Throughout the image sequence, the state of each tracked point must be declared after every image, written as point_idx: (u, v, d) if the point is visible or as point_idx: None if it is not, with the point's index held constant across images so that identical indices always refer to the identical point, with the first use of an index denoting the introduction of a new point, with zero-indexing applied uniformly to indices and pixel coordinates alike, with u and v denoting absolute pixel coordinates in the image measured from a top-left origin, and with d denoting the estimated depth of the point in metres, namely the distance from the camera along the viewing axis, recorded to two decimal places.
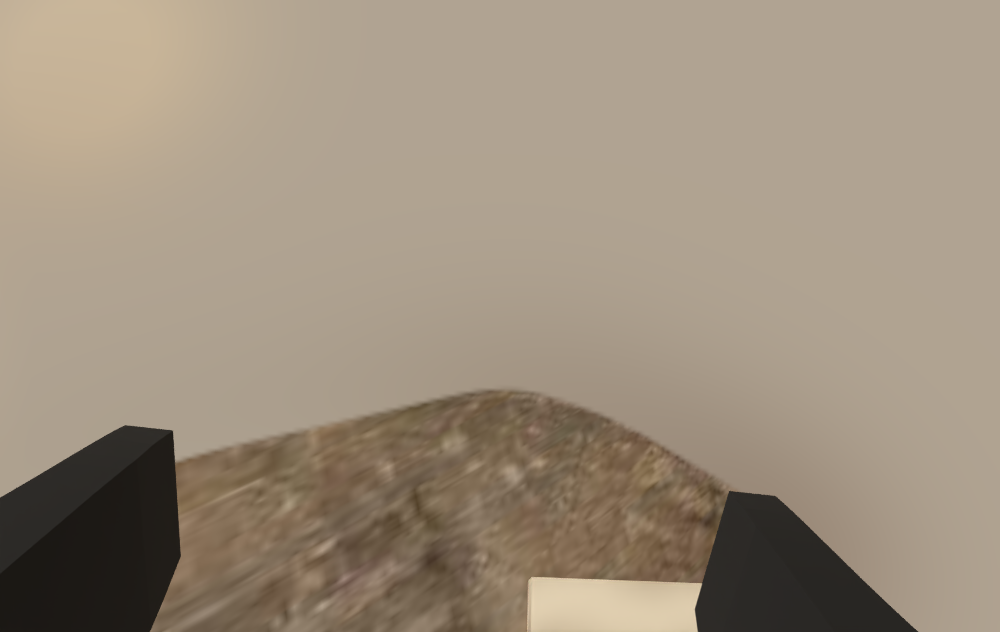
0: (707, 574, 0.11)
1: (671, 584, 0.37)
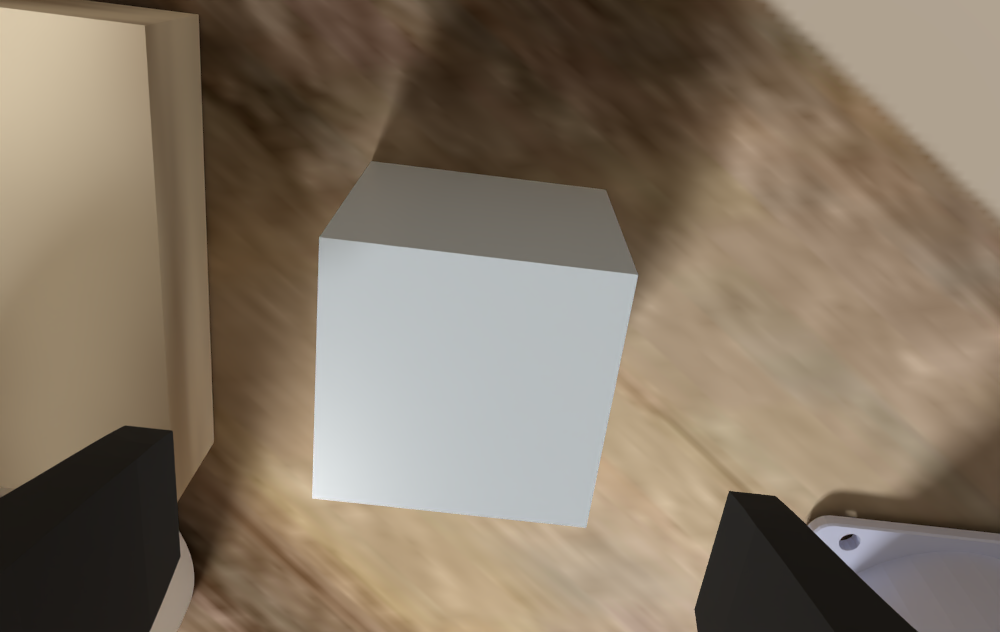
0: (707, 574, 0.11)
1: None
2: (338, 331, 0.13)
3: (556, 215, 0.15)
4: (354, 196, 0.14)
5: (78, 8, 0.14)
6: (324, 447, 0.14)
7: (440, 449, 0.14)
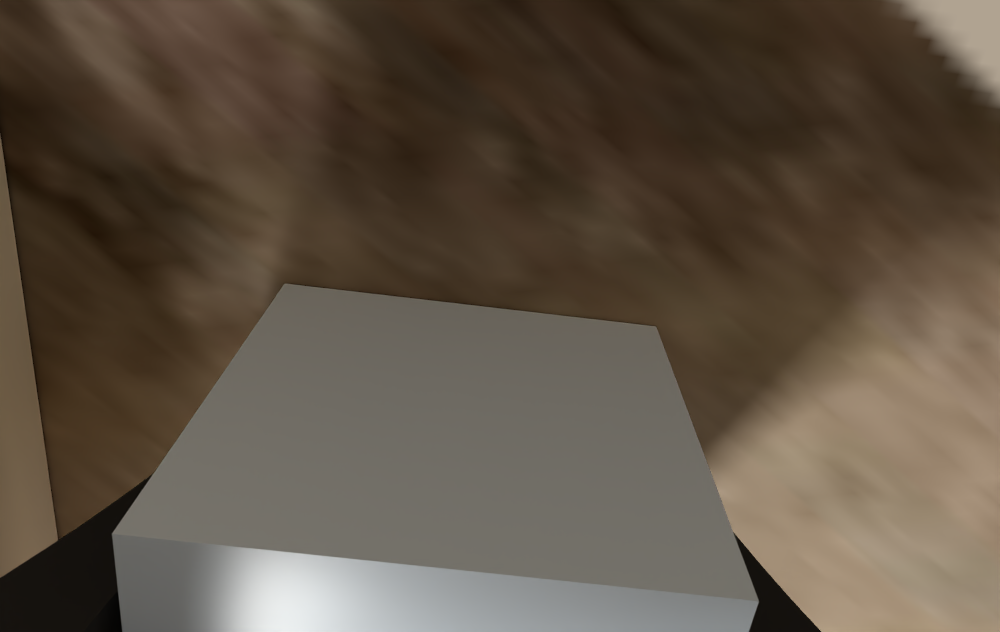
0: None
1: None
2: None
3: (583, 406, 0.09)
4: (228, 384, 0.08)
5: None
6: None
7: None
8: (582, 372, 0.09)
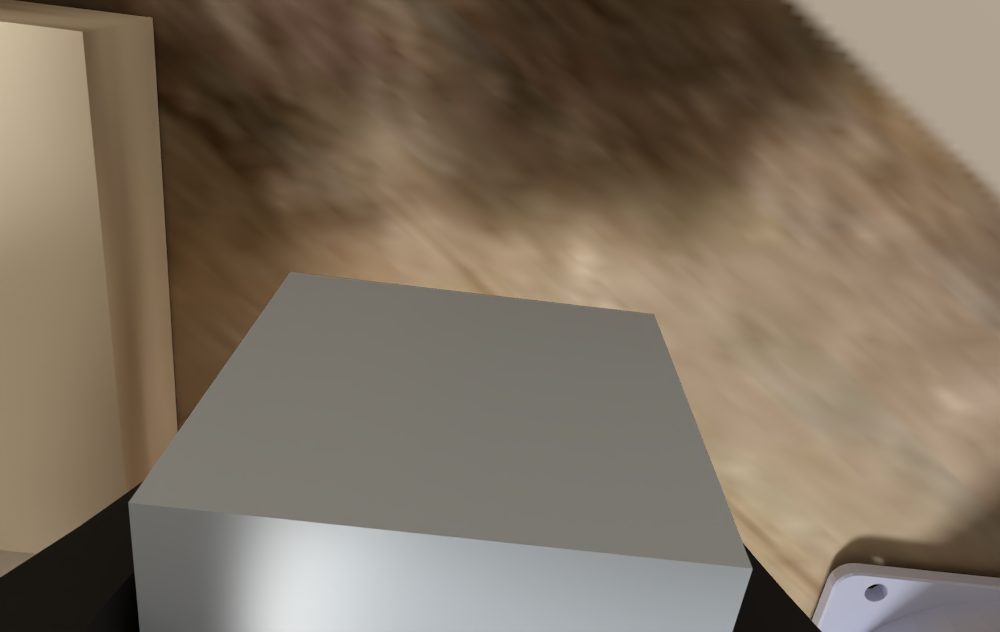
0: None
1: None
2: None
3: (583, 389, 0.09)
4: (237, 365, 0.08)
5: (10, 11, 0.13)
6: None
7: None
8: (582, 356, 0.10)
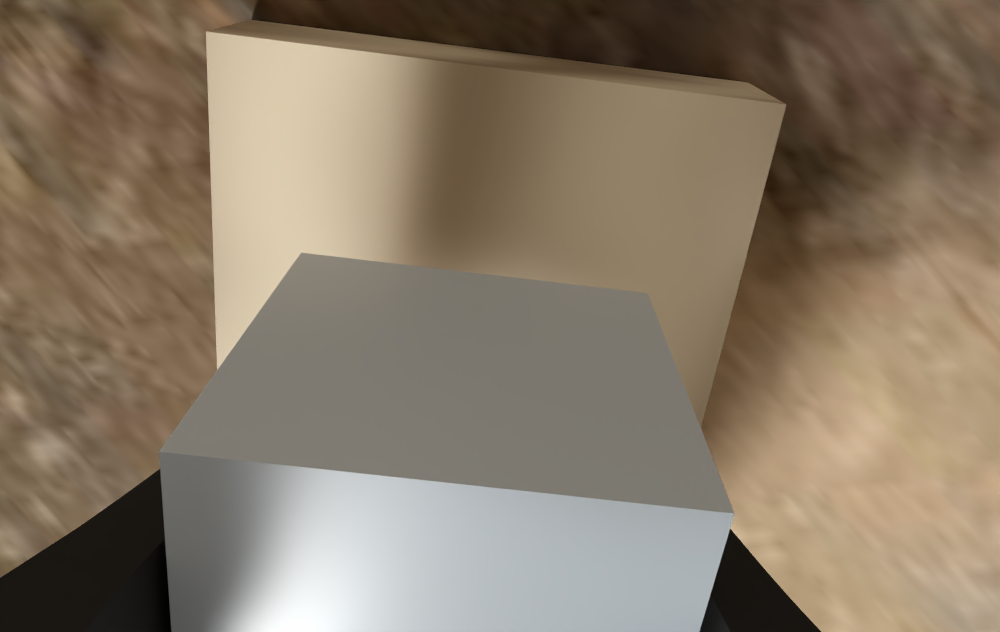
0: None
1: (217, 225, 0.15)
2: (206, 598, 0.07)
3: (579, 358, 0.09)
4: (255, 334, 0.09)
5: (681, 83, 0.15)
6: None
7: None
8: (578, 330, 0.10)
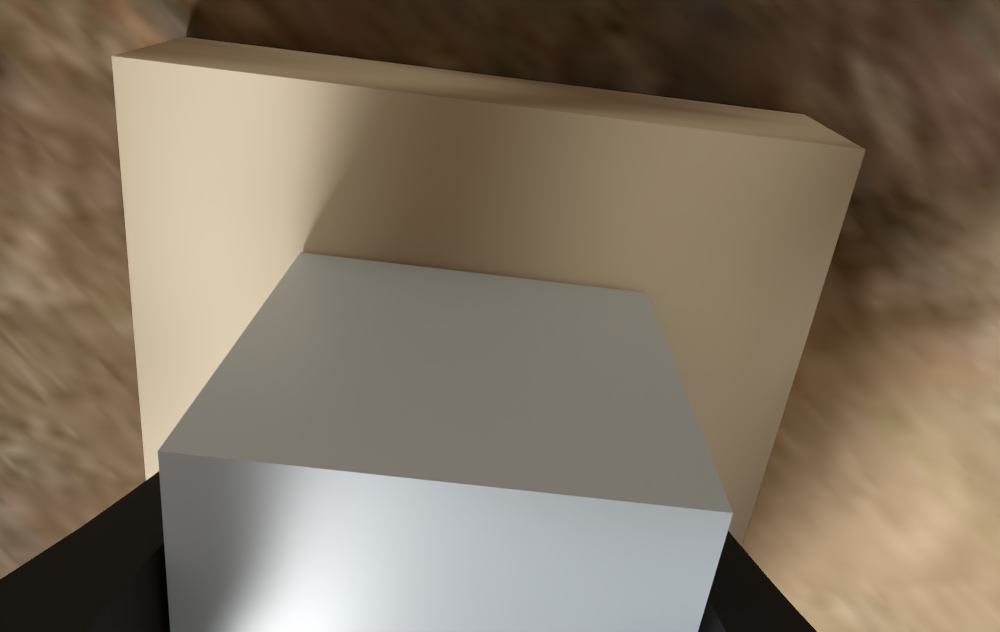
0: None
1: (138, 298, 0.12)
2: (205, 596, 0.07)
3: (578, 358, 0.09)
4: (253, 334, 0.09)
5: (726, 118, 0.12)
6: None
7: None
8: (577, 330, 0.10)
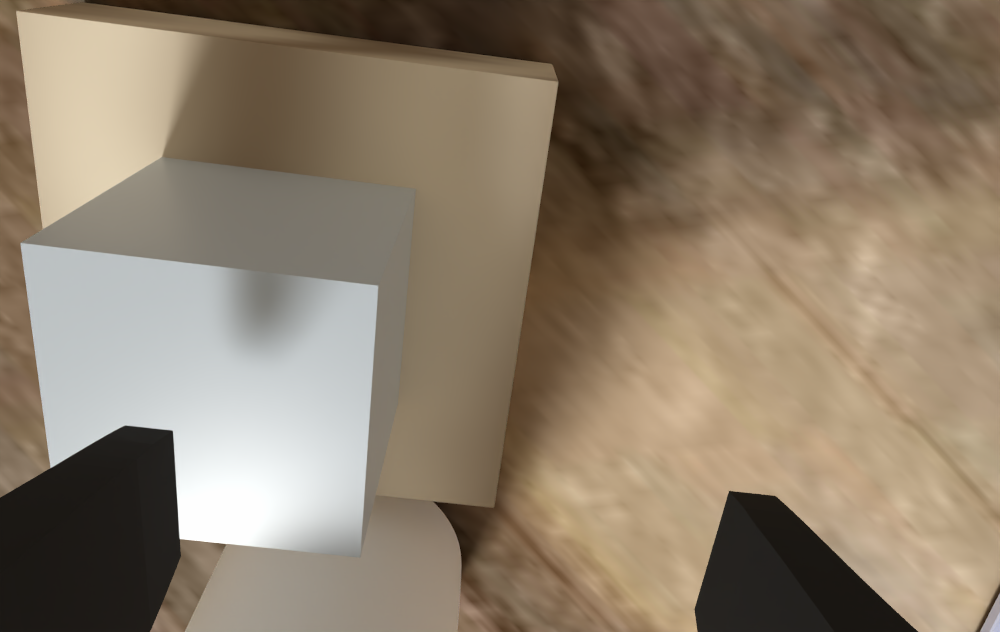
0: (707, 574, 0.11)
1: (43, 193, 0.16)
2: (58, 347, 0.12)
3: (333, 218, 0.14)
4: (105, 196, 0.13)
5: (474, 62, 0.16)
6: None
7: (190, 474, 0.13)
8: (344, 204, 0.14)
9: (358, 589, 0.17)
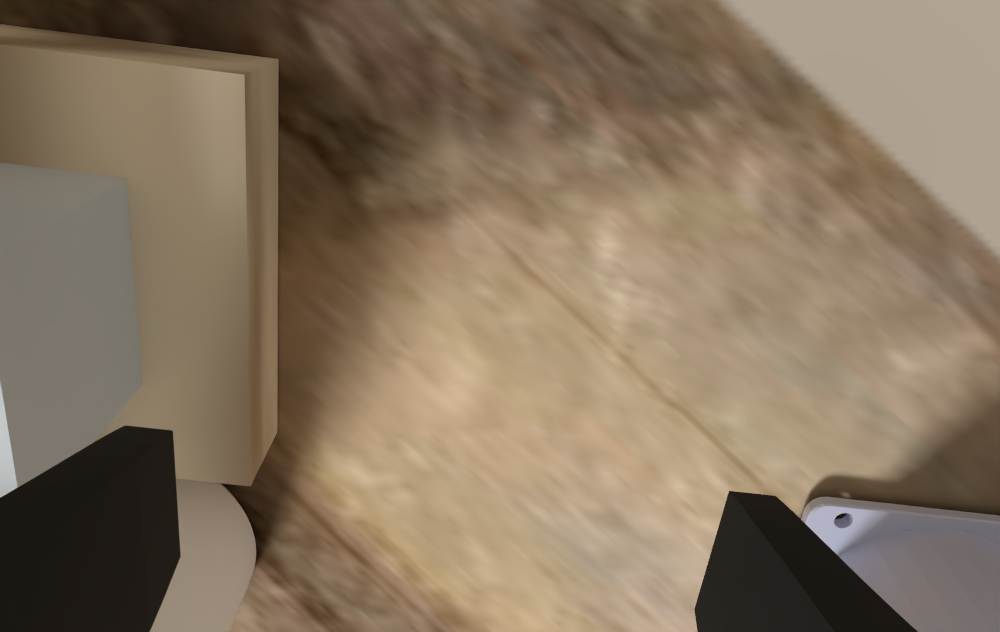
0: (707, 574, 0.11)
1: None
2: None
3: (4, 203, 0.15)
4: None
5: (182, 57, 0.17)
6: None
7: None
8: (31, 191, 0.15)
9: None
